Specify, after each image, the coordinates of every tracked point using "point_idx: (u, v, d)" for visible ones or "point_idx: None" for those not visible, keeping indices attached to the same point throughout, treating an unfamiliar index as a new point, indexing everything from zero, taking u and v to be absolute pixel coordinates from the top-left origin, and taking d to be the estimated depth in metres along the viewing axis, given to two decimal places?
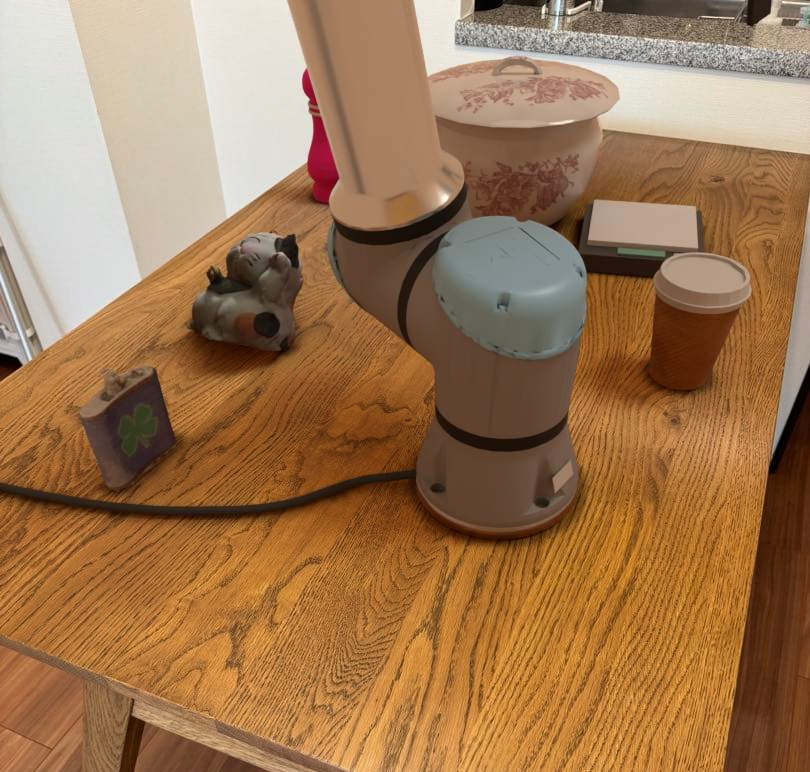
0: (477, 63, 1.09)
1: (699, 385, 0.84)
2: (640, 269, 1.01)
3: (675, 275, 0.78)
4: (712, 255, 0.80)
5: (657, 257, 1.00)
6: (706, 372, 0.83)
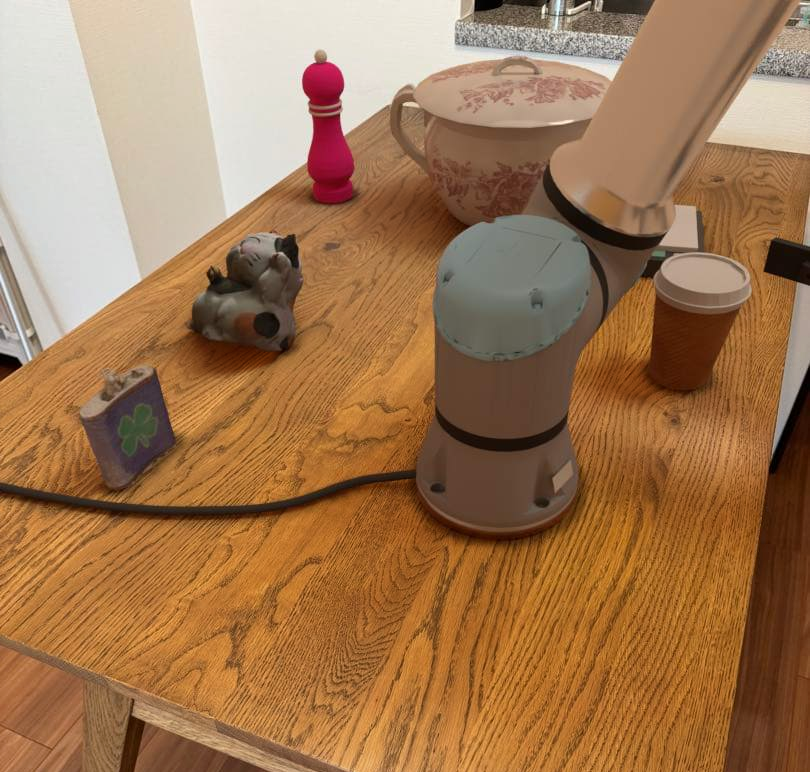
0: (477, 63, 1.09)
1: (699, 385, 0.84)
2: None
3: (675, 275, 0.78)
4: (712, 255, 0.80)
5: (657, 257, 1.00)
6: (706, 372, 0.83)
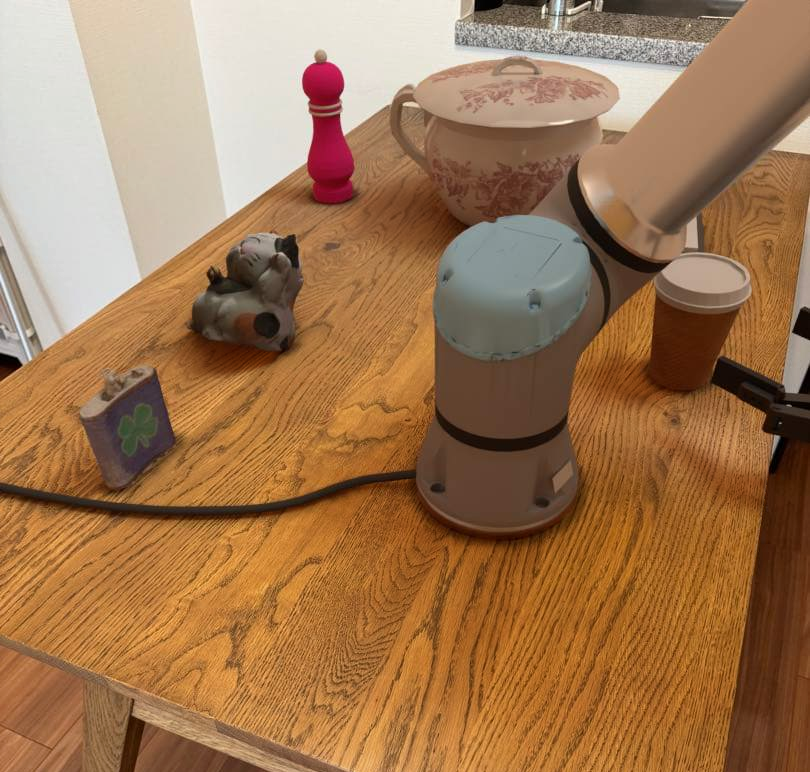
0: (477, 63, 1.09)
1: (699, 385, 0.84)
2: None
3: (675, 275, 0.78)
4: (712, 255, 0.80)
5: None
6: (706, 372, 0.83)
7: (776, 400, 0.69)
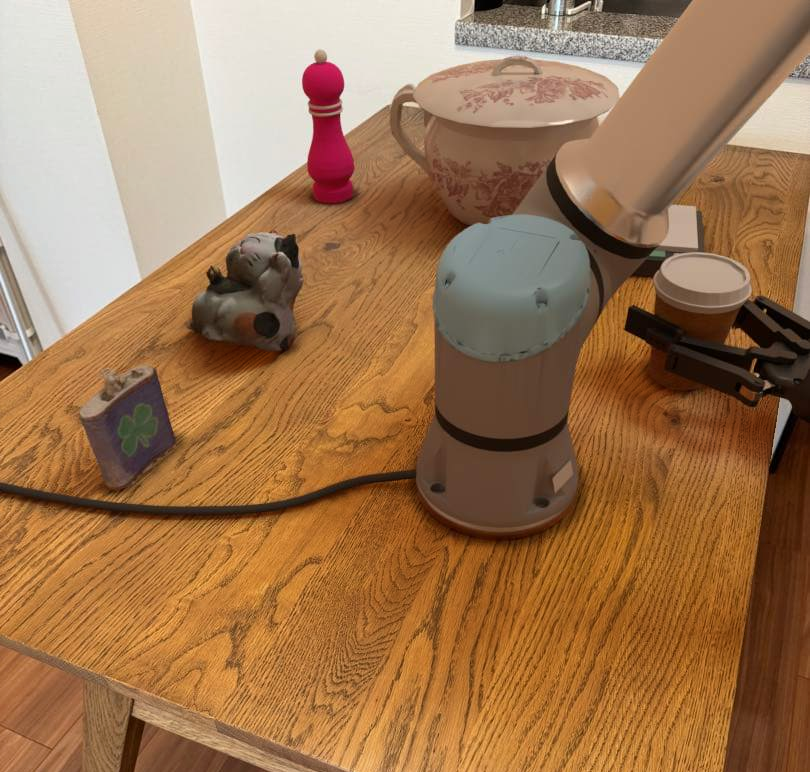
0: (477, 63, 1.09)
1: (699, 385, 0.84)
2: (640, 269, 1.01)
3: (675, 275, 0.78)
4: (712, 255, 0.80)
5: (657, 257, 1.00)
6: None
7: (675, 341, 0.77)
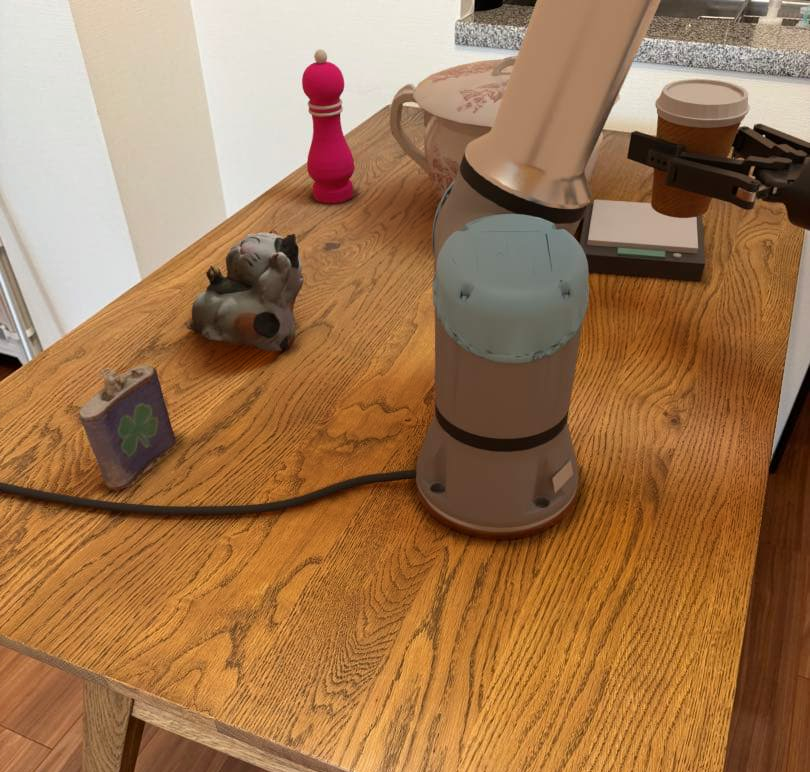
0: (477, 63, 1.09)
1: (699, 214, 0.88)
2: (640, 269, 1.01)
3: (676, 95, 0.81)
4: (712, 80, 0.84)
5: (657, 257, 1.00)
6: (705, 199, 0.86)
7: (675, 156, 0.81)
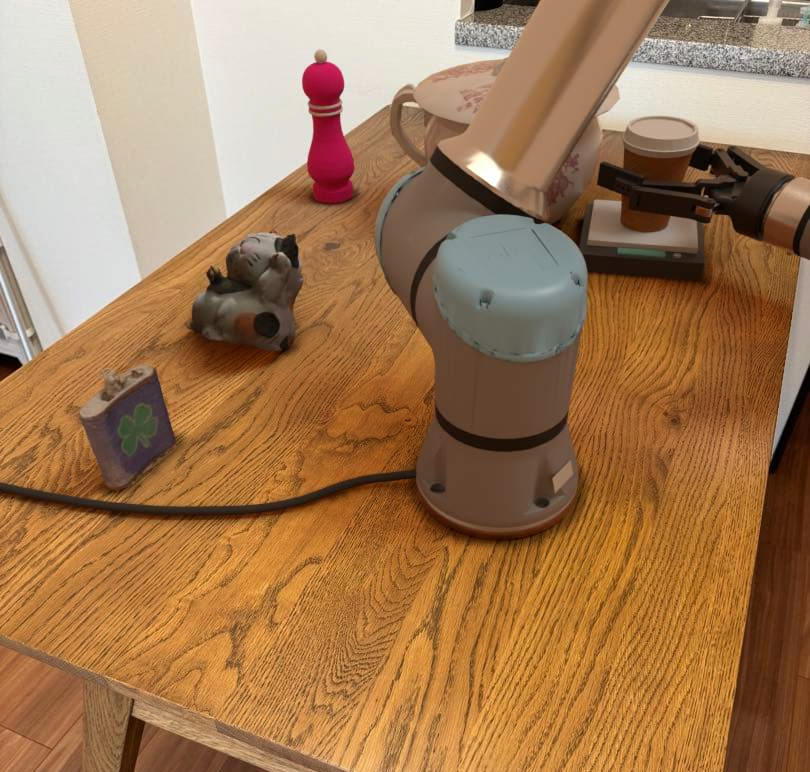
0: (477, 63, 1.09)
1: (660, 228, 1.04)
2: (640, 269, 1.01)
3: (638, 130, 0.98)
4: (669, 117, 1.00)
5: (657, 257, 1.00)
6: (665, 216, 1.02)
7: (638, 185, 0.94)
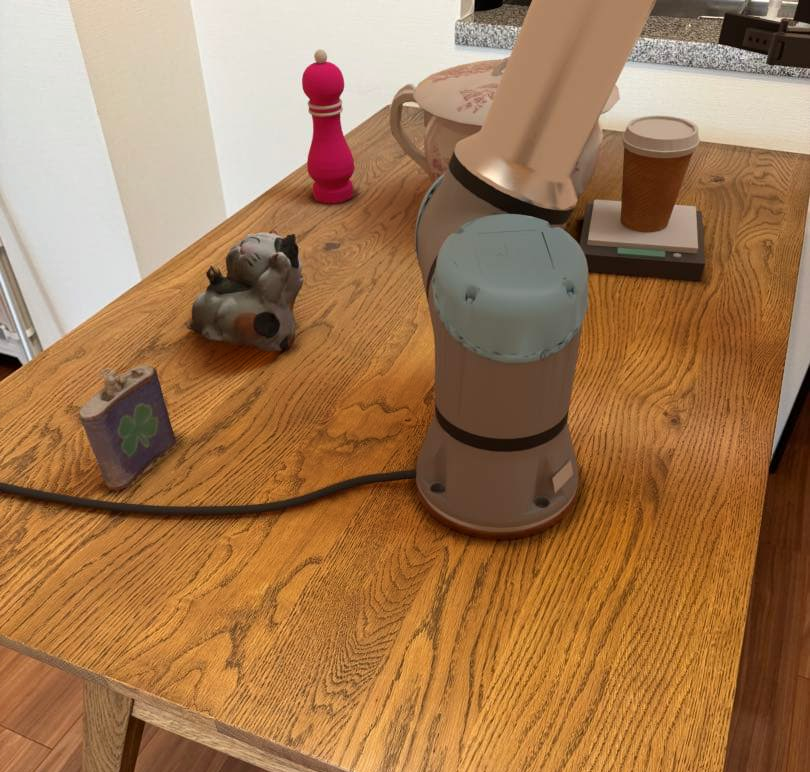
0: (477, 63, 1.09)
1: (660, 228, 1.04)
2: (640, 269, 1.01)
3: (638, 130, 0.97)
4: (669, 117, 1.00)
5: (657, 257, 1.00)
6: (665, 216, 1.02)
7: None
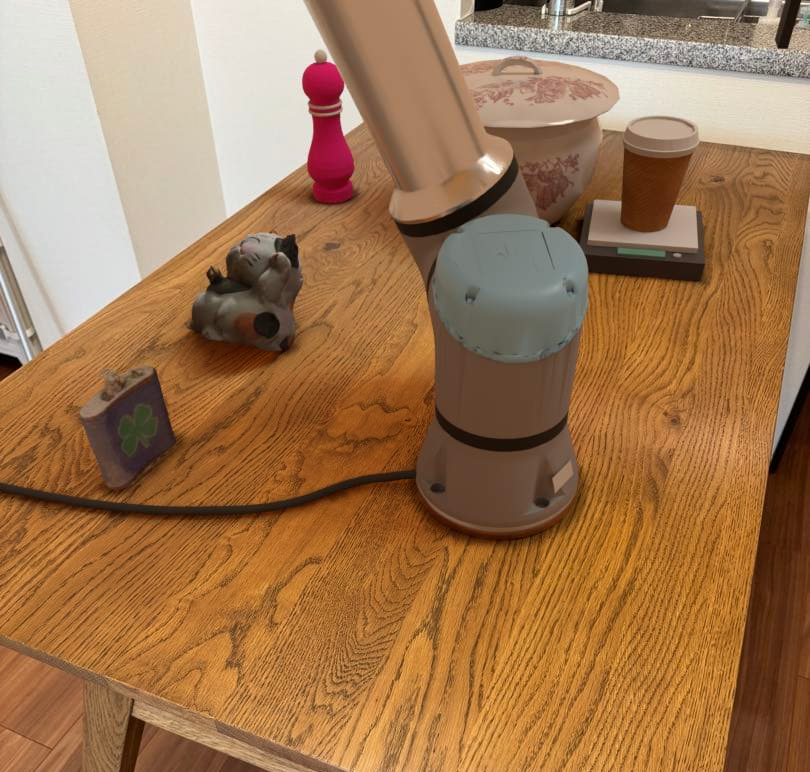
0: (477, 63, 1.09)
1: (660, 228, 1.04)
2: (640, 269, 1.01)
3: (638, 130, 0.97)
4: (669, 117, 1.00)
5: (657, 257, 1.00)
6: (665, 216, 1.02)
7: None
